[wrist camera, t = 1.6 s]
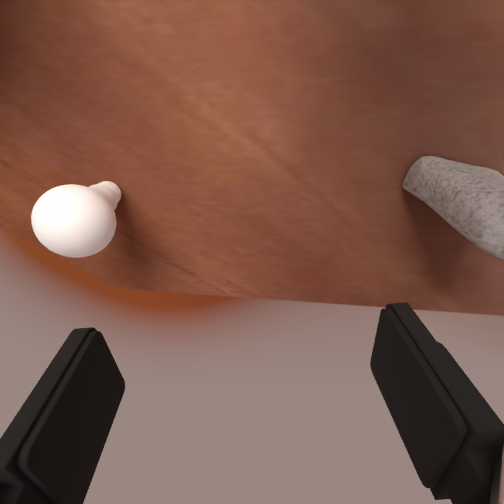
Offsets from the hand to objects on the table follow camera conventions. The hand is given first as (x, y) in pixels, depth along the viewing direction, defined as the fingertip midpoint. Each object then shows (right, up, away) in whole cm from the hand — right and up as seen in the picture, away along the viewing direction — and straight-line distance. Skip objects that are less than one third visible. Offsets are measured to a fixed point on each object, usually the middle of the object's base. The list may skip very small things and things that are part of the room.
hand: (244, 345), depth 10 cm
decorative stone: (+22, +11, +23) cm, 33 cm away
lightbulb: (-15, +10, +22) cm, 28 cm away
